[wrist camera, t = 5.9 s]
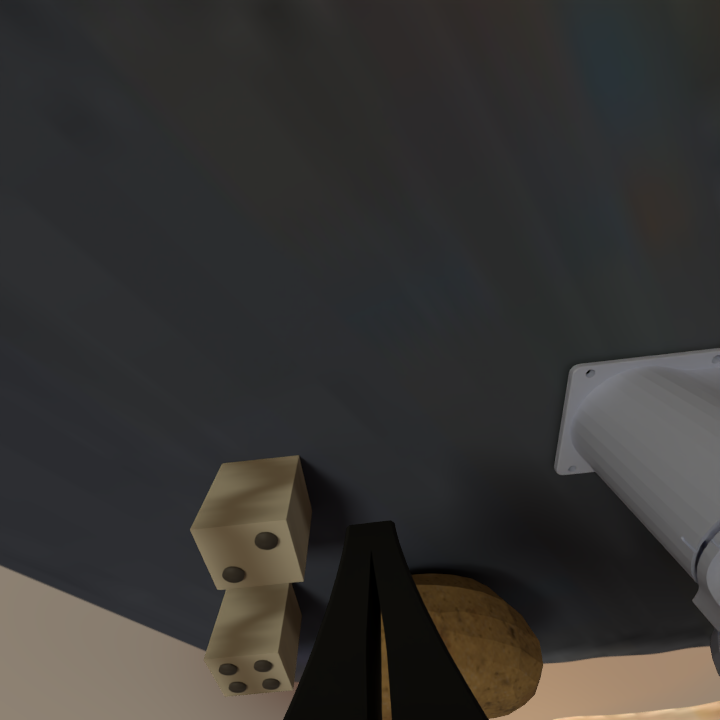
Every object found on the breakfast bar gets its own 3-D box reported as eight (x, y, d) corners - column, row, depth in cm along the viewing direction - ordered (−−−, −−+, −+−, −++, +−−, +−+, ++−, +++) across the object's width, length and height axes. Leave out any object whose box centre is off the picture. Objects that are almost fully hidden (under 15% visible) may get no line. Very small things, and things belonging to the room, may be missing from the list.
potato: (500, 616, 30) (548, 748, 23) (340, 623, 30) (337, 759, 23) (519, 540, 26) (585, 671, 19) (333, 547, 26) (327, 683, 18)
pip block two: (299, 454, 22) (285, 522, 17) (312, 510, 24) (303, 584, 19) (222, 462, 22) (188, 532, 17) (242, 517, 24) (216, 592, 20)
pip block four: (290, 577, 27) (277, 655, 22) (301, 614, 29) (292, 692, 25) (228, 583, 27) (202, 662, 23) (244, 620, 29) (224, 699, 25)
